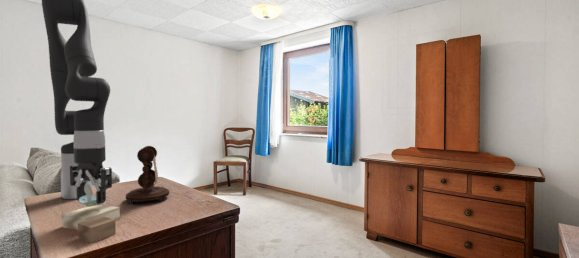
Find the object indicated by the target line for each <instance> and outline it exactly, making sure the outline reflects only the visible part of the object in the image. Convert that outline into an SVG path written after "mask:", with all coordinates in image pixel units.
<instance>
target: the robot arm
mask: <svg viewBox="0 0 579 258" xmlns="http://www.w3.org/2000/svg"><path fill="white" fill-rule="evenodd" d="M41 7H42V13H43V20H44V24H45V30H46V35H47V42H48V44H47V45H48V58H49V68H50V69H49V70H50V79H51V84H52V92H53V103H54V106H53V107H54V126H55V131H56V133H57V134H58V135H61V136H62V135H63V136H68V135H69V136H73V141H72V142H69V143H66V144H63V145H61V147H60V158H61V159H60V161H61V171H60V174H59V175H60V197H61V198H62V199H64V200H77V201H78V202H79V198H80V197H82V196H85V195H87V194H86V193H85V191H84V188H85V186H86V185H89V186H90V187H91V189H92V190H93V188H92V187H93V186H94V187H95V190H96V191H95V195H96V203H97V204H101V203H104V202H105V201H106V200H107V198H106V197H107V192H106V191H107V189H110V188H113V170H112V169H113V168H112V167H111V166H110V167H104V165H103V162H105V161H106V160H107V159H106V136H105V135H106V134H105V127H104V125H105V124H104V123H105V121H104V120H105V119H104V118H105V112H106V109H107V108H106V107H107V105H108V101H109V97H110V95H111V86H110V84H109V82H108V81H107V79H104V78H102V77H94V76H95V74H96V73H97V71H98V67H97V62H96V60H95V56H94V52H93V48H92V47H93V46H92V40H91V30H90V29H91V28H90V21H89V13H88V8H87V5H86V2H85V0H41ZM59 24H61V25H71V26H76V29H75V31H74V32H73V33H72V34H71V36H69V39H68V40H66V39H65V38H64V35H62V33H61V31H60V29H59ZM92 76H93V77H92ZM70 101H75V102H93V104H92V105H91V107H90V108H85V109H84V108H83V109H79V110H67V109H66V108H67V106H68V104H69V103H70ZM106 182H107V183H106Z"/></svg>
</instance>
